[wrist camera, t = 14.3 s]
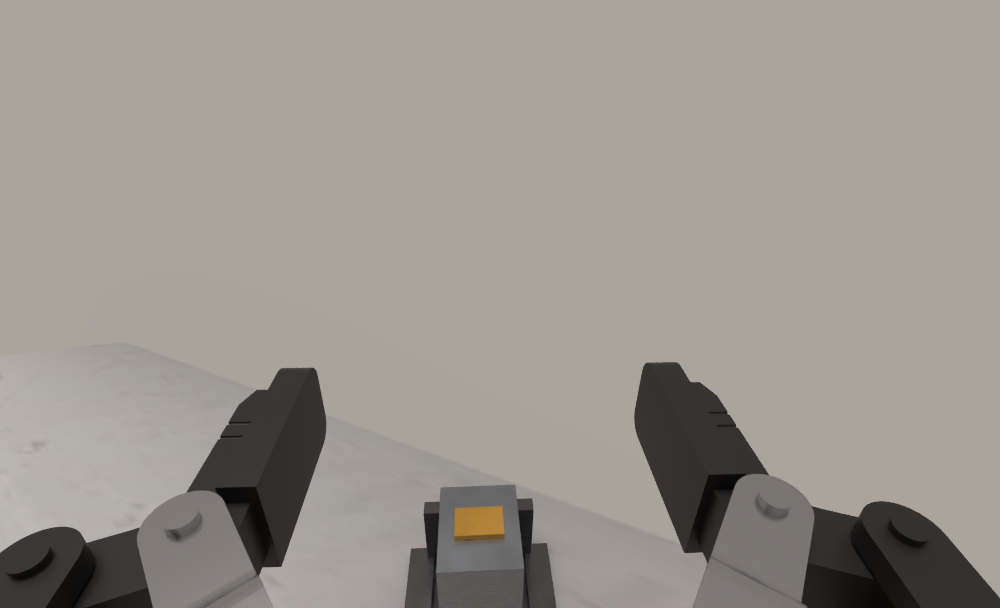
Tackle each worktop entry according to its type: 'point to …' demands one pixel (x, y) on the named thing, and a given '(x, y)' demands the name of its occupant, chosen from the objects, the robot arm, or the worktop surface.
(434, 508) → the bracket
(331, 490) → the worktop surface
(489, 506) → the metal block with pad
